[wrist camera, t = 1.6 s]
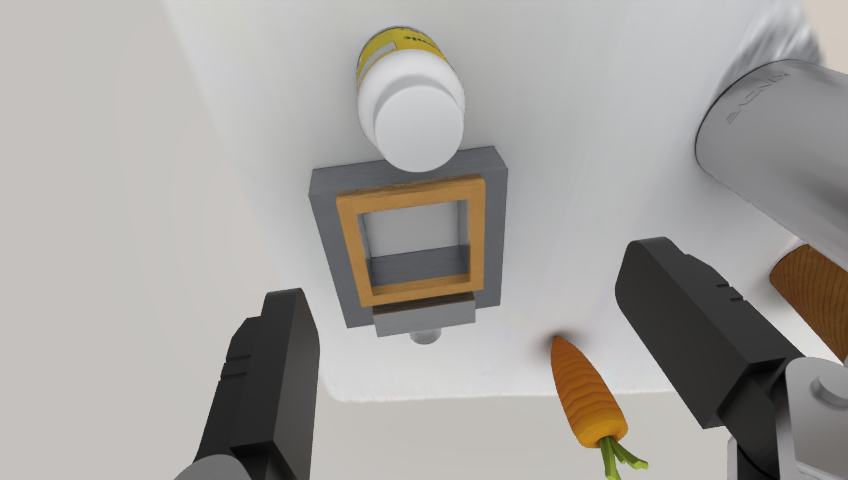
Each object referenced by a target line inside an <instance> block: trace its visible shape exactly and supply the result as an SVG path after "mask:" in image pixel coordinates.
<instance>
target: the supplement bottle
mask: <svg viewBox="0 0 848 480" xmlns="http://www.w3.org/2000/svg"><path fill="white" fill-rule="evenodd" d="M357 110H358V117H359V121H360V124H361V127H362V129H363V131H364V133H365V135H366V137H367V138H368V139H369V141H370V142H371V143H372V144H373V145H374V146H375V147H376V148H377V149H378V150H379V151H380V152H381V154H382V155H383V156H384V158H385V159H386V160H387V161H388V162H389V163H391V164H392V165H394V166H395V167H397V168H399V169H402V170H405V171H409V172H426V171H430V170H433V169H435V168H438V167H440V166H441V165H443V164H445V163H446V162H447V161H448V160H449V159H450V158H451V157H452V156H453V155H454V154H455V153H456V151H457V150H458V148H459V146H460V143H461V141H462V138H463V133H464V120H463V119H464V115H465V95H464V90H463V87H462V84H461V82H460V79H459V78H458V76H457V74H456V72H455V71H454V69H453V68H452V67H451V65H450V64H449V63H448V61H447V60H446V58H445V57H444V56H443V54H442V53H441V51H440V50H439V49H438V47H437V46H436V45H435V43H434V42H433V41H432V40H431V39H430V38H429V37H428V36H427V35H425V34H424V33H422V32H421V31H419V30H417V29H414V28H411V27H407V26H394V27H390V28H387V29H384V30H382V31H380V32H378V33H377V34H375V35H374V36H373V37H372V38H371V39H370V40H369V41H368V42H367V44H366V45H365V46H364V48H363V50H362V52H361V54H360V57H359V60H358V65H357Z"/></svg>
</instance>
